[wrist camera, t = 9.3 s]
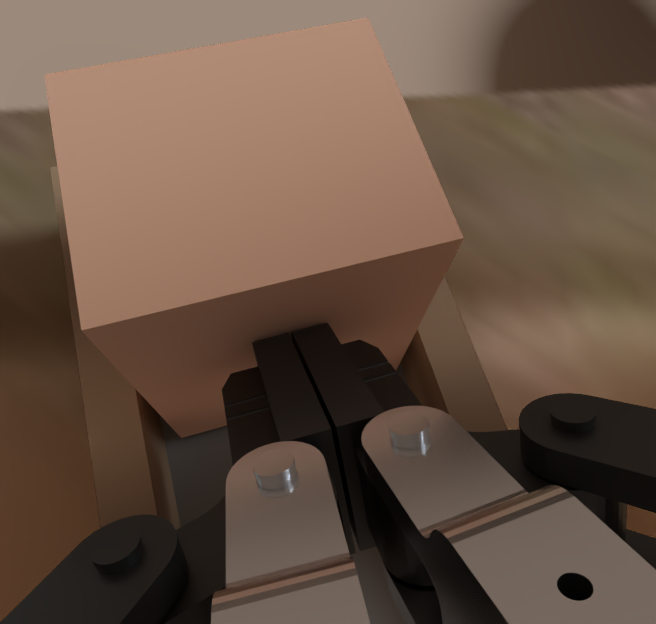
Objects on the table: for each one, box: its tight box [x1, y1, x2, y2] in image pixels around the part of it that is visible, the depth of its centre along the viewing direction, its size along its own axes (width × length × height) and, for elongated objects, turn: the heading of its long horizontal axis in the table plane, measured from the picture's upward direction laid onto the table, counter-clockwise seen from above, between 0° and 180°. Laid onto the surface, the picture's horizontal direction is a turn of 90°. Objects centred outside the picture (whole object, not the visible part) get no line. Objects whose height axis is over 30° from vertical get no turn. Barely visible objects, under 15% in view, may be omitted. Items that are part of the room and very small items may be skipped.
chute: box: [50, 166, 507, 624], centre depth 14 cm, size 22×9×3 cm, turn 16°
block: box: [44, 18, 464, 438], centre depth 14 cm, size 5×6×8 cm
